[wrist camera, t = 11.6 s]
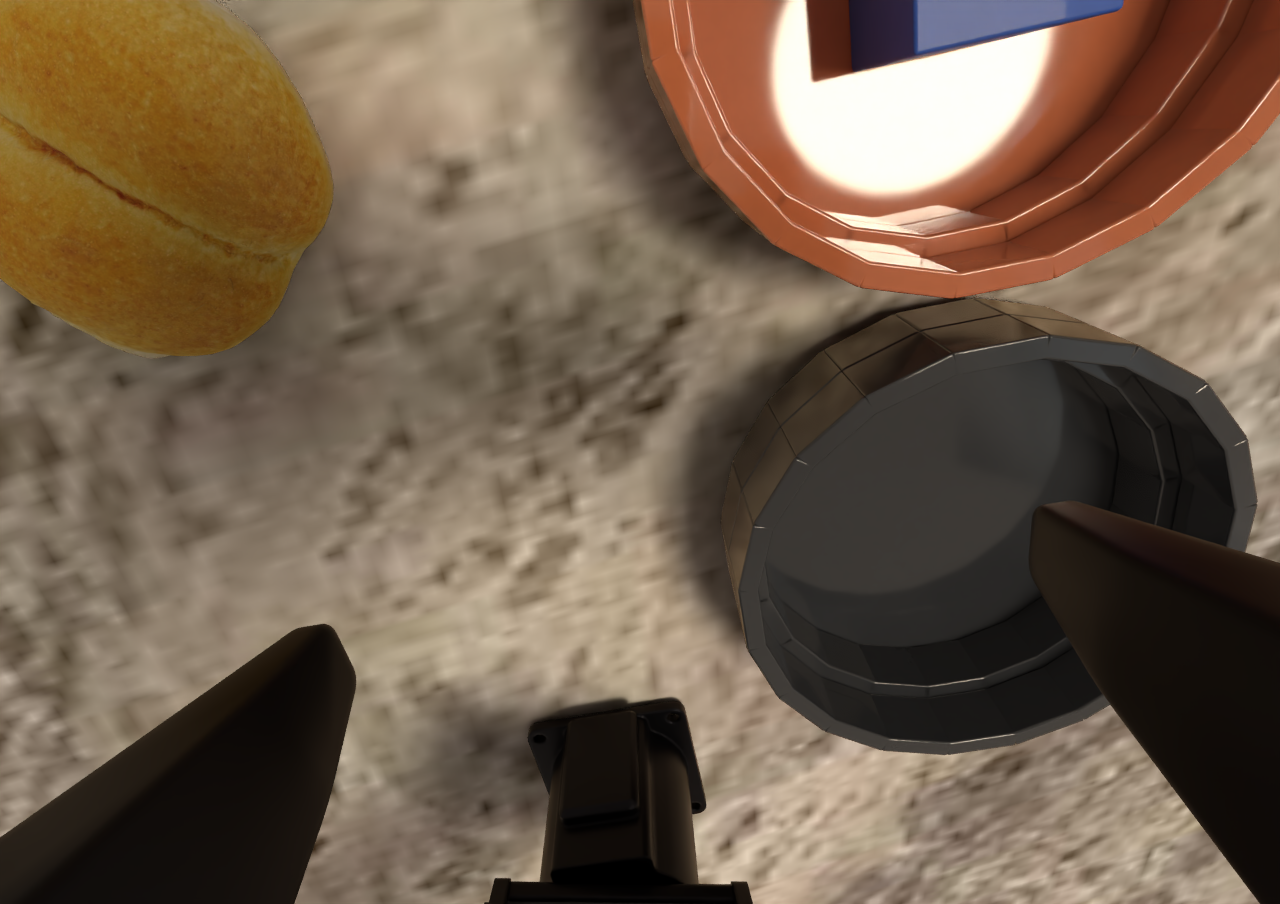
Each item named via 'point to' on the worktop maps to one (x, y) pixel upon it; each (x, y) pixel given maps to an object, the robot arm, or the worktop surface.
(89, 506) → the worktop surface
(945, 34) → the blue block
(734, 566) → the charcoal bowl
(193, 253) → the bread roll
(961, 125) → the terracotta bowl
